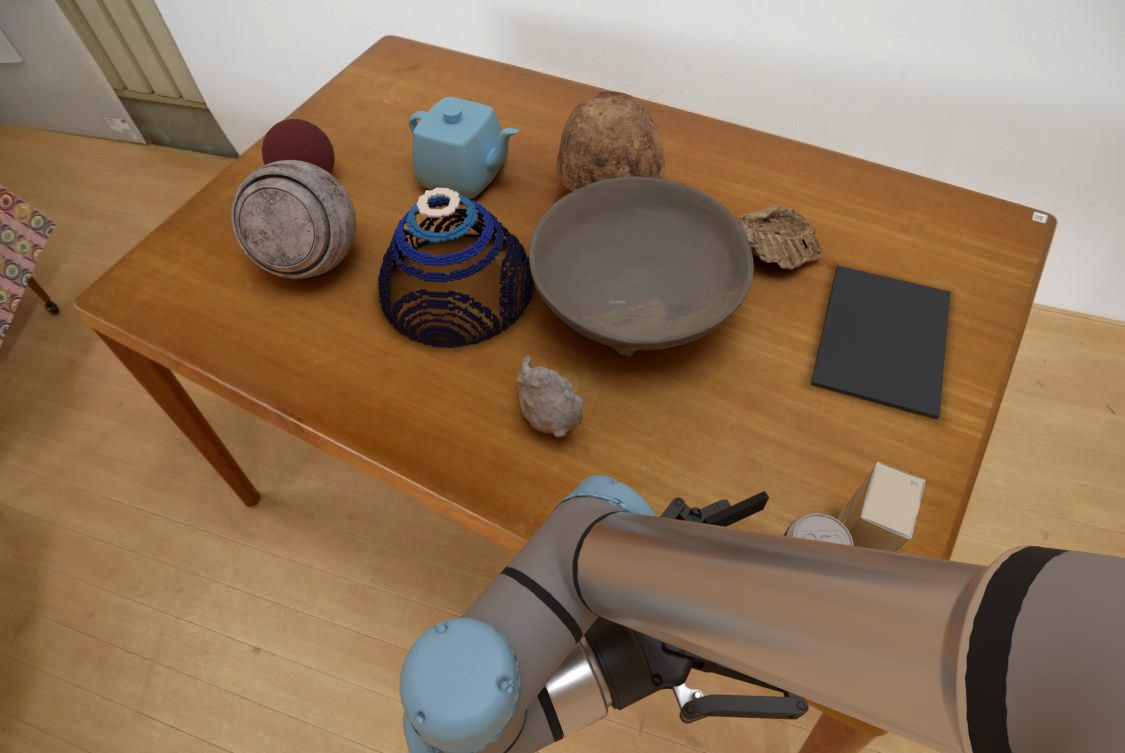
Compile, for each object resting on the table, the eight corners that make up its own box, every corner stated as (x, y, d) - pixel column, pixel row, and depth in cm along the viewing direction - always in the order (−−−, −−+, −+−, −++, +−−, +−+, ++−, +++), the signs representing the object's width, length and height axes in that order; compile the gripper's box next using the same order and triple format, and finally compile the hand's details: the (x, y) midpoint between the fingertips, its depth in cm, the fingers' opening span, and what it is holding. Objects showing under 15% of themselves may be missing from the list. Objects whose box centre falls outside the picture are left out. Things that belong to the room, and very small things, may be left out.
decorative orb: (244, 296, 92) (192, 207, 80) (281, 222, 100) (239, 132, 88) (352, 303, 91) (315, 214, 79) (381, 227, 99) (352, 136, 87)
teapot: (506, 219, 99) (498, 151, 90) (399, 188, 104) (380, 121, 95) (542, 168, 106) (538, 100, 97) (440, 141, 110) (426, 74, 101)
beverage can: (820, 622, 65) (861, 578, 56) (759, 613, 66) (789, 568, 56) (817, 564, 69) (855, 513, 59) (759, 556, 69) (787, 504, 60)
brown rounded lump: (666, 167, 105) (676, 74, 93) (655, 238, 96) (665, 146, 84) (568, 157, 107) (566, 66, 95) (548, 226, 98) (543, 135, 86)
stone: (598, 410, 80) (599, 357, 72) (575, 457, 76) (573, 408, 68) (525, 384, 82) (518, 331, 74) (499, 429, 79) (490, 378, 71)
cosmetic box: (837, 514, 72) (877, 456, 62) (880, 532, 70) (928, 476, 60) (819, 568, 68) (859, 516, 58) (864, 588, 67) (912, 539, 57)
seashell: (811, 287, 94) (816, 218, 96) (831, 270, 87) (836, 196, 89) (728, 276, 94) (735, 207, 96) (742, 258, 87) (749, 184, 89)
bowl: (725, 232, 96) (738, 173, 88) (754, 388, 81) (772, 334, 73) (537, 235, 97) (532, 177, 89) (530, 390, 82) (524, 337, 74)
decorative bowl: (523, 351, 85) (512, 268, 74) (365, 342, 87) (330, 259, 75) (541, 238, 97) (535, 151, 85) (401, 232, 98) (376, 145, 87)
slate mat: (937, 419, 78) (939, 416, 77) (811, 384, 81) (812, 381, 81) (948, 294, 89) (950, 291, 88) (836, 268, 92) (837, 265, 91)
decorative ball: (353, 187, 105) (333, 129, 96) (290, 213, 101) (264, 156, 93) (327, 154, 109) (306, 96, 101) (266, 178, 106) (240, 120, 98)
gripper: (537, 553, 67) (725, 470, 72) (663, 834, 54) (884, 709, 58) (532, 521, 61) (738, 433, 66) (672, 828, 48) (919, 690, 52)
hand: (807, 563), depth 62 cm, fingers open, 13 cm apart
